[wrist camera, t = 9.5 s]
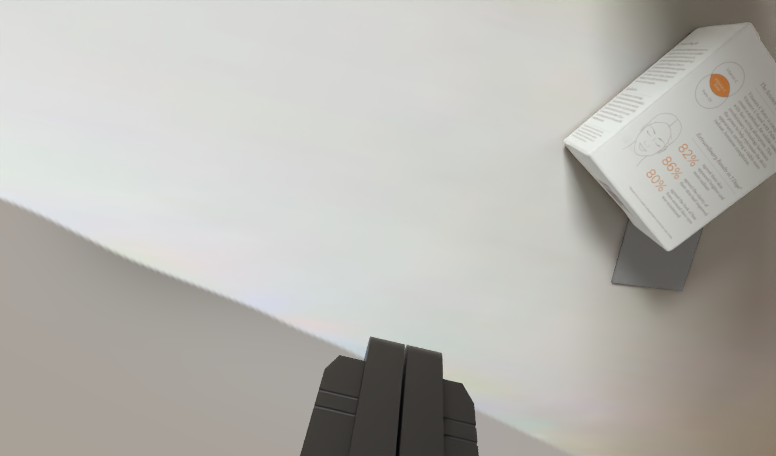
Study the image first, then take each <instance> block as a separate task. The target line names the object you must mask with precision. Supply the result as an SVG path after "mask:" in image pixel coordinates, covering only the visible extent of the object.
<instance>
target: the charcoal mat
mask: <svg viewBox="0 0 776 456" xmlns="http://www.w3.org/2000/svg"><path fill="white" fill-rule="evenodd" d="M702 229H703V227H702V228H701V229H700V230H698V231H697V232H696V233H694V234H693V235H692V236H690V237H689V238H688V239H686V240H685V241H684V242H682V243H681V244H680V245H678V246H677V247H676V248H674V249H673V250H671V251H666V250H665V249H663V248H662V247H661V246H660V245H659V244H657V243H656V242H655V241H653V240H652V239H651V238H650V237H648V236H647V235H646V234H644V233H643V232H642V231H641V230H639V229H638V228H637V227H636V226H634V225H633V223H632V222H631V221H630V219H629V221H628V224H627V228H626V231H625V235H624V238H623V242H622V245H621V249H620V253H619V256H618V260H617V263H616V267H615V270H614V274H613V277H612V281H611V282H612V283H619V284H628V285H636V286H644V287H652V288H660V289H668V290H676V291H682V290H683V287H684V284H685V281H686V277H687V274H688V271H689V268H690V265H691V262H692V259H693V256H694V253H695V250H696V247H697V244H698V241H699V238H700V235H701V232H702Z"/></svg>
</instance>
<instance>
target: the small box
mask: <svg viewBox="0 0 776 456" xmlns="http://www.w3.org/2000/svg"><path fill="white" fill-rule="evenodd" d="M564 144H565V145H566V147H567V148H568V149H569V150H570V151H571V153H572V154H573V155H574V156H575V157H576V158H577V159H578V161H579V162H580V163H581V164H582V165H583V166H584V167H585V168H586V169H587V171H588V172H589V173H590V174H591V175H592V176H593V177H594V178H595V179H596V181H597V182H598V183H599V184H600V185H601V186H602V187H603V188H604V189H605V191H606V192H607V193H608V194H609V195H610V196H611V197H612V198H613V199H614V201H615V202H616V203H617V204H618V205H619V206H620V207H621V209H622V210H623V211H624V212H625V214H626V215H627V216H628V218H629V219H630V221H631V222H632V223H633V225H634V226H636V227H637V228H638V229H639V230H641V231H642V232H643V233H644V234H646V235H647V236H648V237H650V238H651V239H652V240H653V241H655V242H656V243H657V244H659V245H660V246H661V247H662V248H663V249H665V250H666V251H671V250H673V249H674V248H676V247H677V246H678V245H680V244H681V243H682V242H684V241H685V240H686V239H688V238H689V237H690V236H692V235H693V234H694V233H696V232H697V231H698V230H700V229H701V228H702V227H704V226H705V225H706V224H707V223H709V222H710V221H712V220H713V219H714V218H715V217H717V216H718V215H719V214H721V213H722V212H723V211H725V210H726V209H727V208H729V207H730V206H731V205H733V204H734V203H735V202H737V201H738V200H739V199H741V198H742V197H744V196H745V195H746V194H747V193H749V192H750V191H751V190H753V189H754V188H756V187H757V186H758V185H759V184H761V183H762V182H763V181H765V180H766V179H767V178H769V177H770V176H772V175H773V174H774V173H776V61H775V60H774V59H773V57H772V56H771V54H770V53H769V51H768V50H767V49H766V47H765V46H764V44H763V43H762V41H761V39H760V36H759V34H758V32H757V30H756V29H755V27H754V26H753V24H752V23H750V22H745V23H736V24H725V25H715V26H706V27H699V28H697V29H695V30H694V31H693V32H692V33H691V34H689V35H688V36H687V37H686V38H685V39H683V40H682V41H681V42H680V43H679V44H677V45H676V46H675V47H674V48H673V49H672V50H670V51H669V52H668V53H667V54H666V55H664V56H663V57H662V58H661V59H660V60H659V61H657V62H656V63H655V64H654V65H653V66H651V67H650V68H649V69H648V70H647V71H645V72H644V73H643V74H642V75H640V76H639V77H638V78H637V79H635V80H634V81H633V82H632V83H631V84H630V85H628V86H627V87H626V88H625V89H624V90H623V91H622V92H620V93H619V94H618V95H617V96H616V97H614V98H613V99H612V100H611V101H610V102H608V103H607V104H606V105H605V106H604V107H602V108H601V109H600V110H599V111H598V112H596V113H595V114H594V115H593V116H592V117H590V118H589V119H588V120H587V121H586V122H585V123H583V124H582V125H581V126H580V127H579V128H578V129H576V130H575V131H574V132H573V133H572V134H570V135H569V136H568V137H567V138H566V139H565V140H564Z"/></svg>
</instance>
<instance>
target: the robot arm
mask: <svg viewBox="0 0 776 456" xmlns="http://www.w3.org/2000/svg"><path fill="white" fill-rule="evenodd" d="M404 350H405V351H404ZM475 425H476V421H475V410H474V403H473V401H472V399H471V398H470V396H469V394H468V393H467V391H466V389H465V387H464V386H463V384H462V383H457V382H453V381H449V380H445V379H443V364H442V353H439V352H435V351H431V350H426V349H422V348H418V347H414V346H409V345H407V346H406V348H405V345H404V344H400V343H396V342H391V341H387V340H383V339H379V338H374V337H370V339H369V343H368V346H367V350H366V354H365V358H364V361H362V360H358V359H353V358H349V357H345V356H341V355H339V356H338V357H337V358H336V359H335V360H334V361H333V362H332V363H331V364H330V365H329V366H328V367H327V368H326V369H325V371H324V374H323V377H322V381H321V384H320V388H319V392H318V395H317V398H316V402H315V406H314V409H313V413H312V416H311V420H310V423H309V427H308V430H307V434H306V437H305V440H304V444H303V448H302V451H301V455H300V456H479V455H478V446H477V433H476V428H475Z"/></svg>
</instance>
